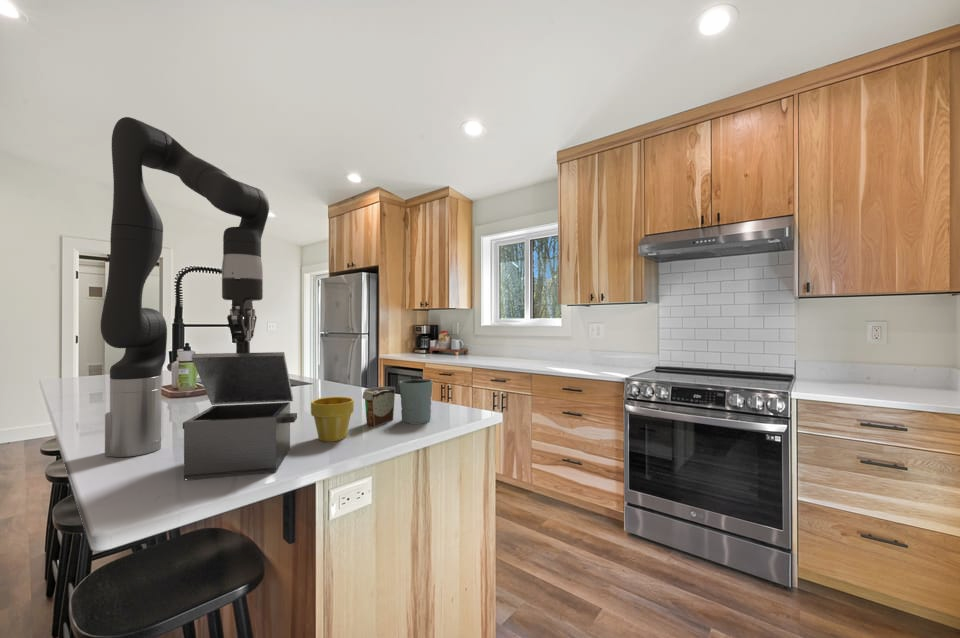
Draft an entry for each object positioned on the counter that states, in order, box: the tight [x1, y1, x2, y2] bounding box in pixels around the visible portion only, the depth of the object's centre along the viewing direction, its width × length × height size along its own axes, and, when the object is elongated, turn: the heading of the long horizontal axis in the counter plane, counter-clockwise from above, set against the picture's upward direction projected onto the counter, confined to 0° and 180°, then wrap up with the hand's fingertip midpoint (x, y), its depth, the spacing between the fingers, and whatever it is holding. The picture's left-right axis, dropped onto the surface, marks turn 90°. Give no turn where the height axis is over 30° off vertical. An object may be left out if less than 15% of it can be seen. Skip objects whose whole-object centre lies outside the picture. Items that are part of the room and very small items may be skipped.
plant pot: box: [310, 396, 355, 443], centre depth 109 cm, size 10×10×10 cm
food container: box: [362, 386, 397, 428], centre depth 125 cm, size 12×6×10 cm, turn 157°
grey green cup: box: [398, 378, 433, 425], centre depth 128 cm, size 10×10×12 cm
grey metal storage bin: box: [182, 401, 298, 481], centre depth 90 cm, size 21×16×11 cm
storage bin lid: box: [191, 351, 294, 406], centre depth 93 cm, size 17×16×2 cm
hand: (243, 359), depth 89 cm, fingers closed
